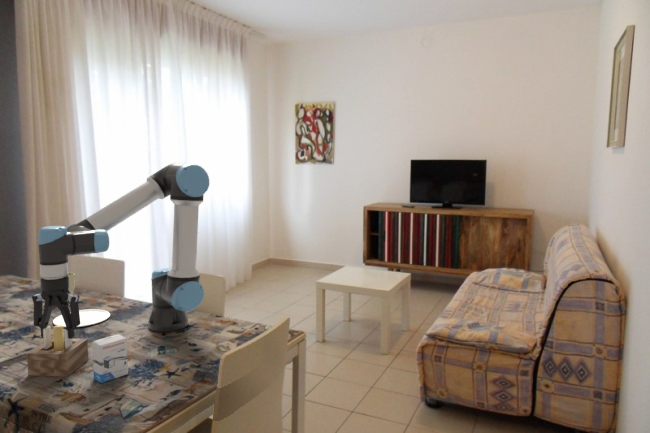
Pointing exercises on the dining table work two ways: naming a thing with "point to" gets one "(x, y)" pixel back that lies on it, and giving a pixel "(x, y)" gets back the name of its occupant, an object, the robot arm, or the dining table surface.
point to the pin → (58, 338)
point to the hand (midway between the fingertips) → (58, 347)
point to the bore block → (57, 359)
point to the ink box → (110, 358)
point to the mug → (71, 283)
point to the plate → (86, 317)
